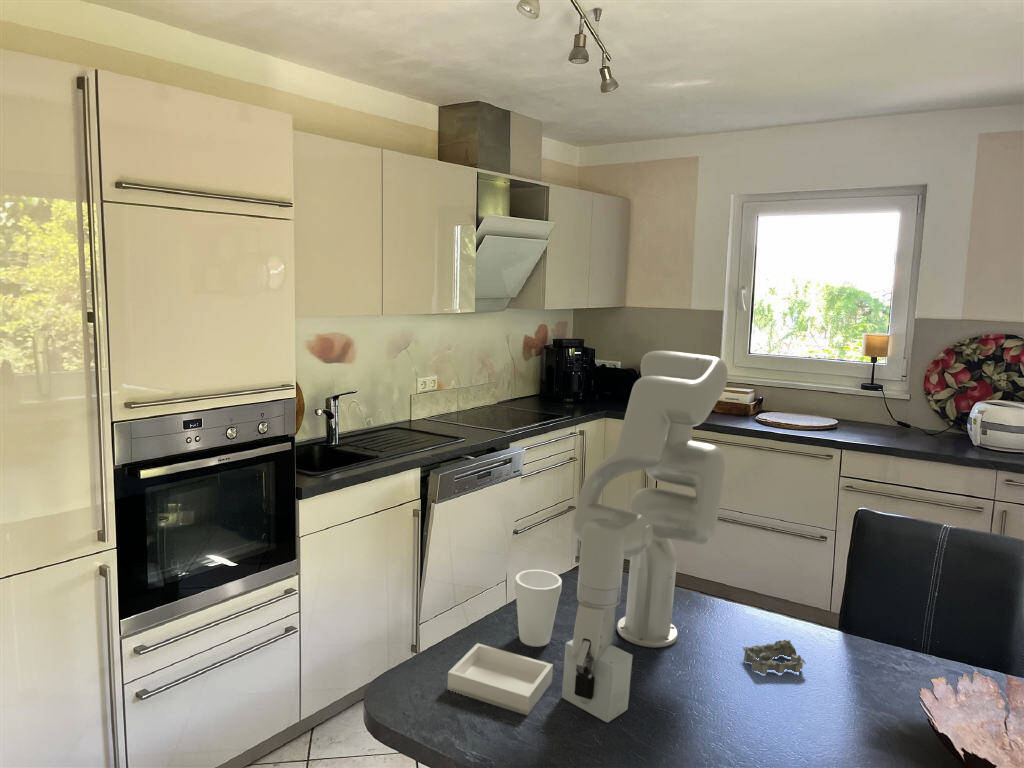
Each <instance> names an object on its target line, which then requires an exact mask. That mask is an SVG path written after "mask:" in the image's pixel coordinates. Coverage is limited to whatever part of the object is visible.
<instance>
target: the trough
mask: <svg viewBox="0 0 1024 768" xmlns="http://www.w3.org/2000/svg"><path fill="white" fill-rule="evenodd" d="M553 671H554V664H552V663H549V662H545V661H542V660H540V659H534V658H532V657H528V656H524V655H520V654H517V653H515V652H514V653H513V652H510V651H507V650H504V649H499V648H495V647H493V646H489V645H485V644H482V643H479V642H477V643H476V644H475V645H474V646H473V647H472V648H470V649H469V651H468V652H466V653H465V655H464V656H463V657H462V658H461V659H460V660H459V661H457V663H455V664H454V666H453V667H452V668H450V669H449V671H448V672H447V691H448V690H450V691H449V692H452V691H453V692H452V693H455V692H456V694H458V693H459V695H461V694H462V696H465V697H467V696H468V698H471V699H474V700H477V701H481V702H483V703H487V704H490V705H493V706H496V707H500V708H502V709H506V710H509V711H512V712H515V713H517V714H518V713H519V714H521V715H525V716H529V714H530V713H531V712H532V710H533V709H534V708H535V706H536V705H537V704H538V702H539V701H540V699H541V698H542V696H543V695H544V694H545V692H546V691H547V690H548V688H549V687H550V685H552V682H553Z"/></svg>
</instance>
